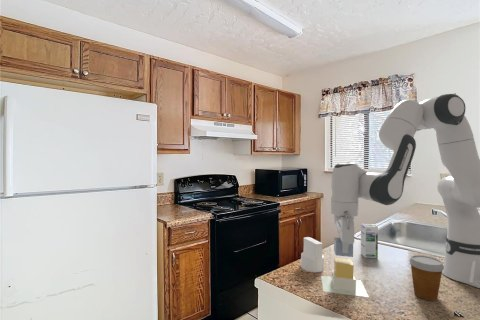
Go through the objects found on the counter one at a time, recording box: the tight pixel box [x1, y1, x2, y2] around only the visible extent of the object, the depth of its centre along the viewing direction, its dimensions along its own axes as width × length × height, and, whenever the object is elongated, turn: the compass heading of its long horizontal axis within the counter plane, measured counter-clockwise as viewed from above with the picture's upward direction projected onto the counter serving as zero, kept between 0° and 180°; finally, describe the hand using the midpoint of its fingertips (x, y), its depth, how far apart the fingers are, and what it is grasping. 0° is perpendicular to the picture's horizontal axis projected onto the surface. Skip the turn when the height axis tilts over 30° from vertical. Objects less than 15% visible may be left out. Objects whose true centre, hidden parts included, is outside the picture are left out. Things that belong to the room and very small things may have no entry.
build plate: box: [320, 275, 370, 298], centre depth 92 cm, size 14×12×1 cm
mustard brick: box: [333, 257, 355, 279], centre depth 92 cm, size 6×6×4 cm
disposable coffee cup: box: [408, 254, 444, 302], centre depth 88 cm, size 10×10×12 cm
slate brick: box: [333, 237, 354, 258], centre depth 92 cm, size 6×6×4 cm
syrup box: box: [360, 223, 379, 259], centre depth 124 cm, size 6×6×14 cm
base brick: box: [331, 268, 357, 292], centre depth 92 cm, size 7×7×4 cm
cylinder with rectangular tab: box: [300, 236, 325, 273], centre depth 107 cm, size 9×9×12 cm
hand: (343, 248), depth 92 cm, fingers closed on slate brick, 5 cm apart
